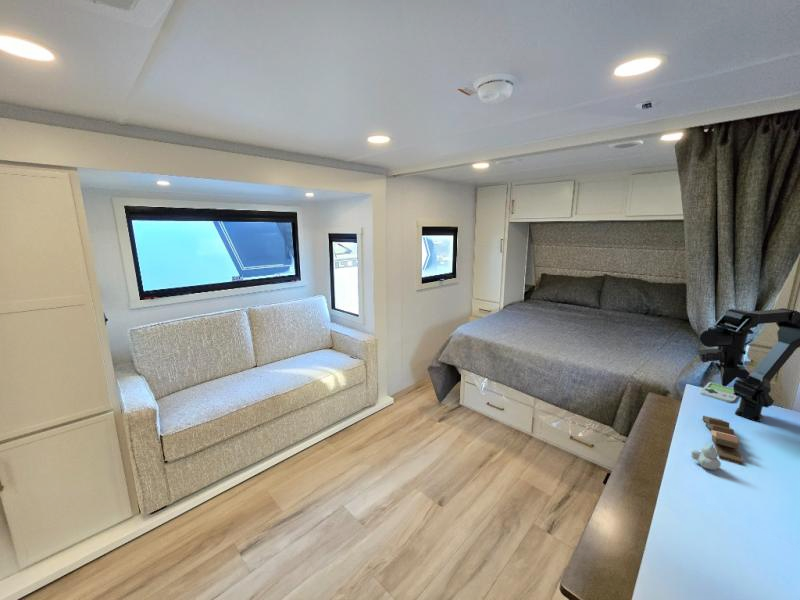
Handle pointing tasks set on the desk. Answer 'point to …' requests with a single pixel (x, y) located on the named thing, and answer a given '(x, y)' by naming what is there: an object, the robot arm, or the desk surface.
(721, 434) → the domino
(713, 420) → the domino
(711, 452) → the grey lumpy figure
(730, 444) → the domino
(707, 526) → the desk surface
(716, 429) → the domino
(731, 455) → the domino
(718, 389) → the handheld gaming console
